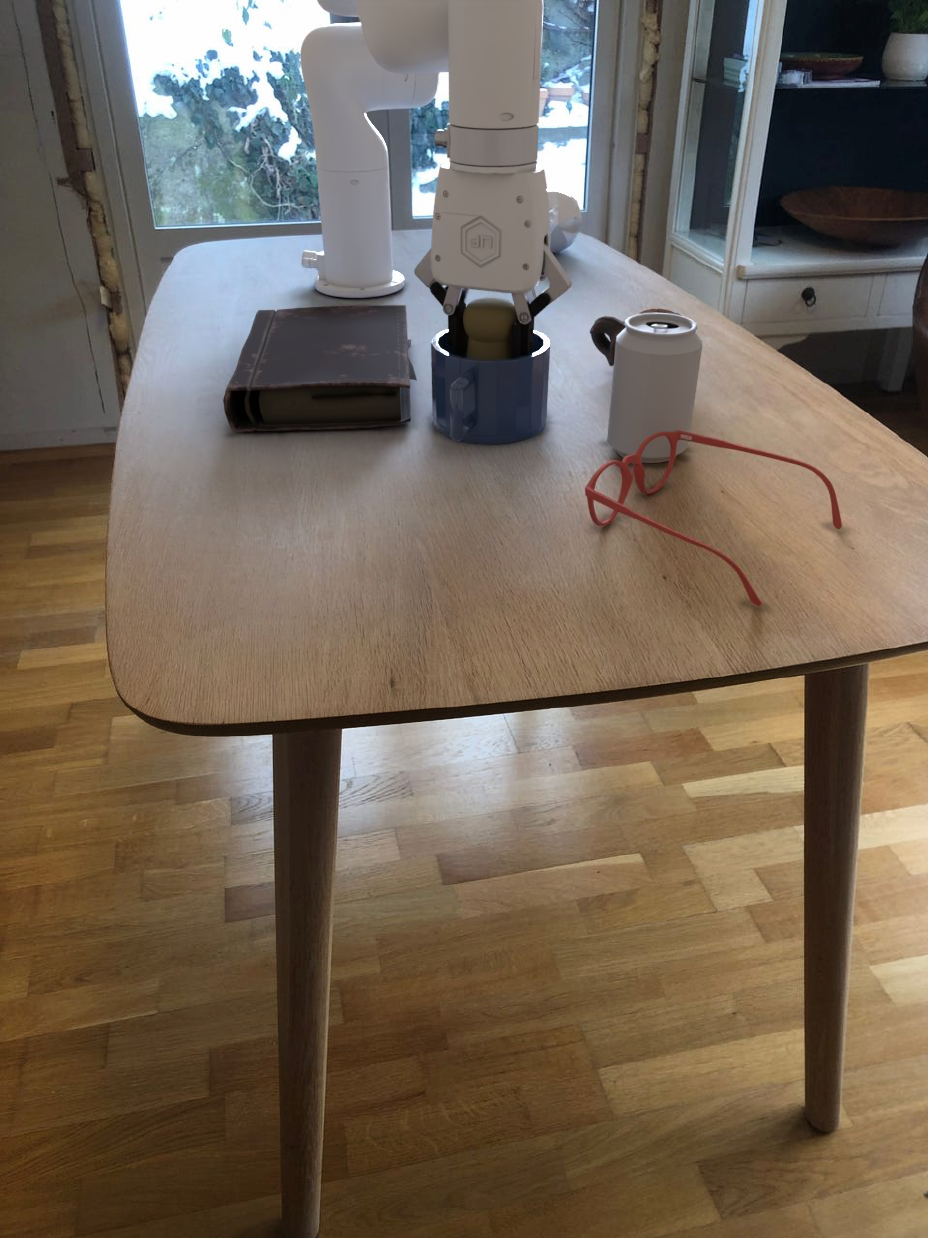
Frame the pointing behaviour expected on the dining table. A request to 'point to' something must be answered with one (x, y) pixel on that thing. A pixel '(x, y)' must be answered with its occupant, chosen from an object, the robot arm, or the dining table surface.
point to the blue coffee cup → (489, 394)
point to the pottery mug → (612, 333)
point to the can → (653, 384)
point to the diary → (322, 370)
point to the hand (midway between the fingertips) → (490, 355)
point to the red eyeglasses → (640, 474)
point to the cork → (489, 328)
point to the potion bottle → (563, 219)
